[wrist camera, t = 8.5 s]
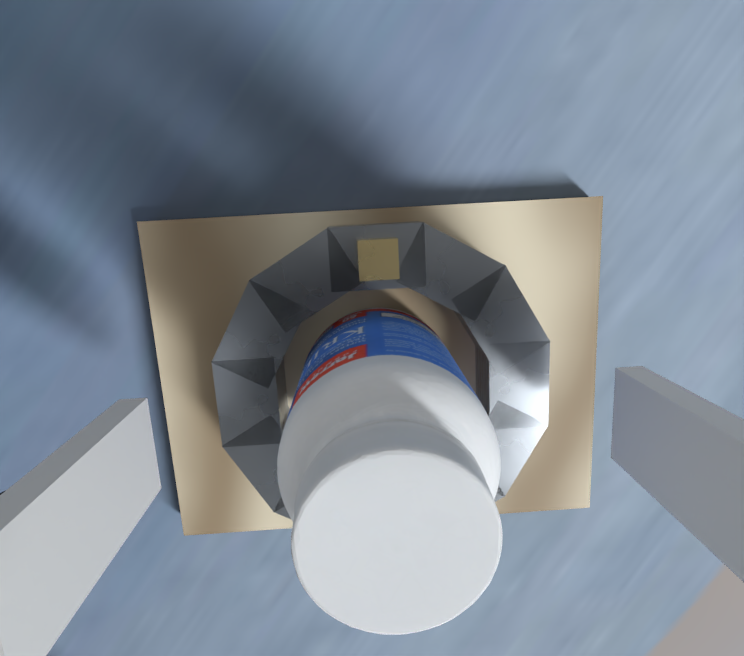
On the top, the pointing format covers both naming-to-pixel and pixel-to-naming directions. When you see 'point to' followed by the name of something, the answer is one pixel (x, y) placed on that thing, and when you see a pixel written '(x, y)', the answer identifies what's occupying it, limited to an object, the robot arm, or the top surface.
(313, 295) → the ring
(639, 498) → the top surface
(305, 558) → the pill bottle
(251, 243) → the board
